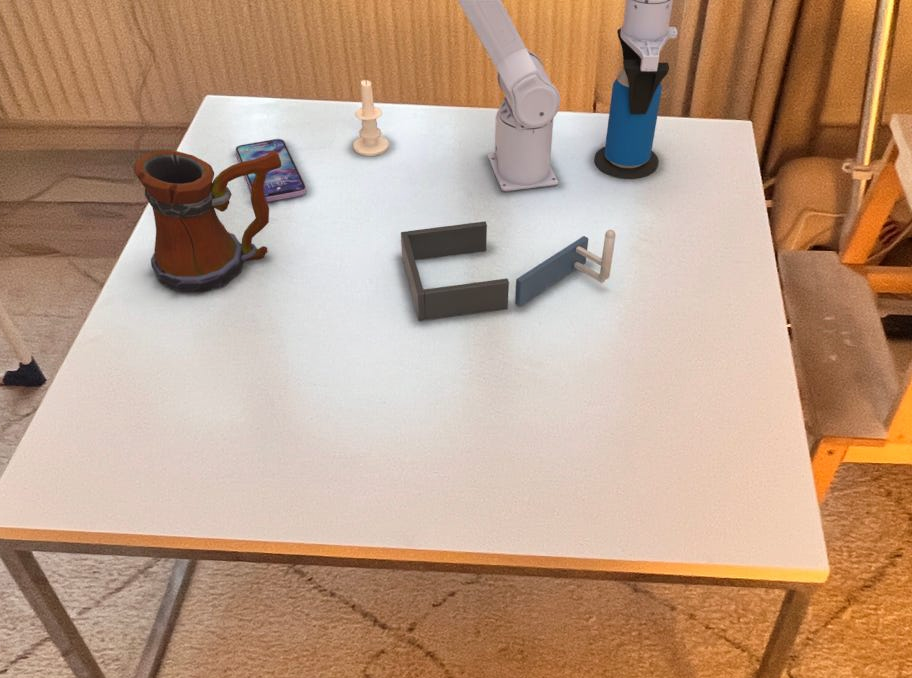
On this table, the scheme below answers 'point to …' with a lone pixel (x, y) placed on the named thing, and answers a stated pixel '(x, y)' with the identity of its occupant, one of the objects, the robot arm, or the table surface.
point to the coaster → (625, 173)
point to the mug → (200, 218)
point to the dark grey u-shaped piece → (457, 296)
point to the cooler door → (565, 267)
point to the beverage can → (629, 127)
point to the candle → (369, 125)
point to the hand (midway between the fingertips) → (635, 98)
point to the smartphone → (278, 180)
